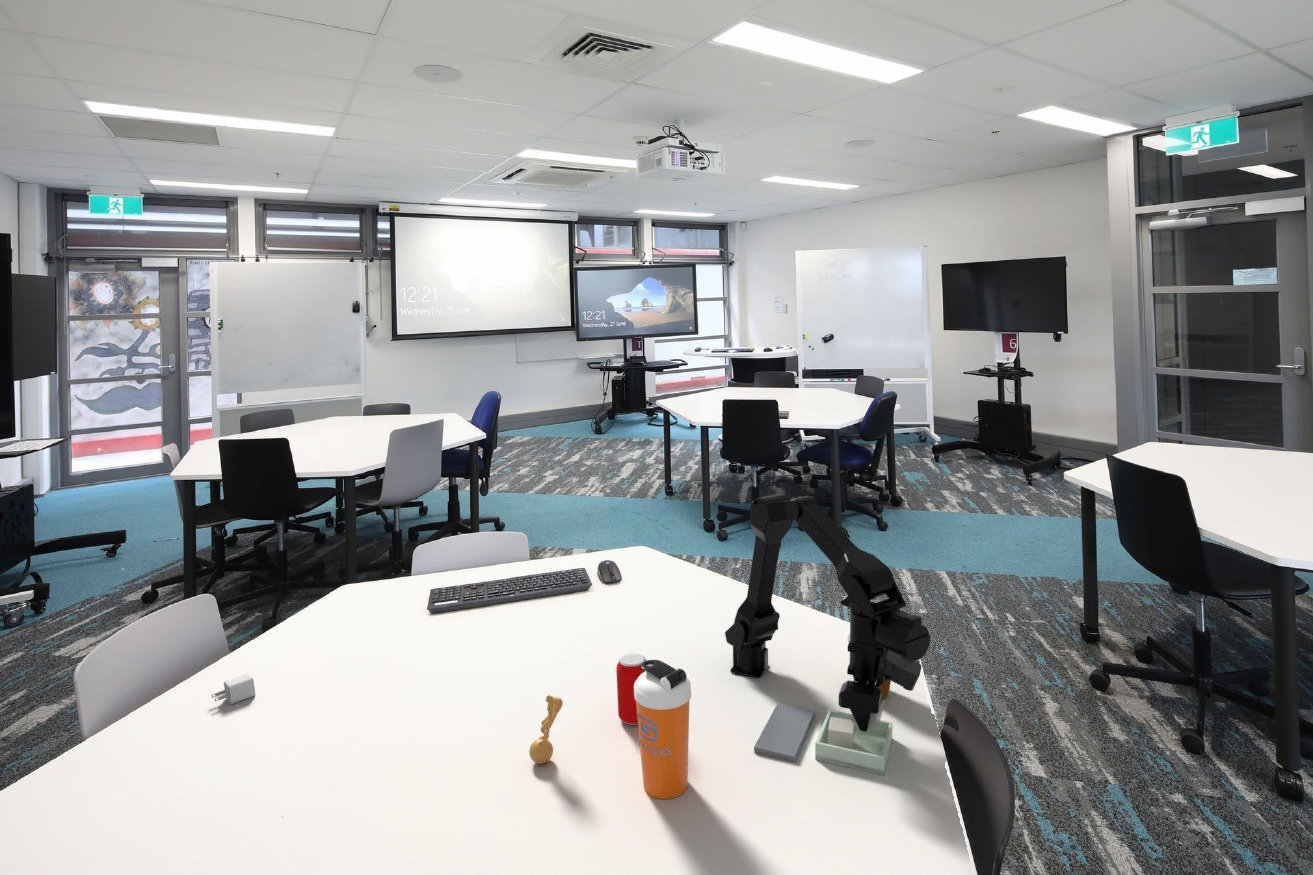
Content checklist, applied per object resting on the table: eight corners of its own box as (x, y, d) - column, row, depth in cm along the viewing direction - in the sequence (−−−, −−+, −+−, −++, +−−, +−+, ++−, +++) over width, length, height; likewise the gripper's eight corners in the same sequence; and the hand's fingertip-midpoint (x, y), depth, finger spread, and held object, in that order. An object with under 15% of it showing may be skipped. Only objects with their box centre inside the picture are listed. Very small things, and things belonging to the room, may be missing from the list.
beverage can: (655, 712, 133) (653, 653, 131) (644, 730, 127) (642, 669, 125) (625, 707, 135) (623, 649, 133) (613, 725, 129) (610, 664, 127)
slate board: (754, 752, 120) (753, 746, 120) (777, 707, 133) (777, 702, 133) (794, 761, 117) (794, 756, 117) (814, 715, 130) (814, 710, 130)
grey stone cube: (850, 719, 120) (855, 697, 120) (856, 713, 123) (862, 691, 123) (873, 729, 118) (879, 707, 118) (879, 722, 121) (884, 700, 121)
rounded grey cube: (827, 751, 118) (827, 729, 118) (830, 737, 122) (830, 716, 121) (852, 755, 117) (852, 733, 116) (853, 741, 121) (854, 720, 120)
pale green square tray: (815, 759, 118) (815, 742, 117) (828, 724, 127) (828, 709, 127) (883, 775, 113) (884, 758, 113) (892, 738, 123) (892, 722, 122)
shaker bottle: (658, 760, 119) (654, 649, 115) (703, 778, 114) (701, 663, 110) (626, 790, 111) (621, 673, 108) (673, 811, 106) (670, 688, 103)
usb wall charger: (255, 696, 144) (253, 678, 143) (217, 710, 139) (214, 692, 138) (249, 690, 146) (246, 672, 146) (211, 703, 142) (208, 685, 141)
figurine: (532, 747, 123) (528, 684, 121) (566, 745, 124) (563, 681, 122) (527, 778, 115) (523, 710, 113) (564, 774, 116) (561, 707, 114)
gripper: (913, 670, 106) (910, 764, 109) (923, 621, 123) (920, 704, 126) (838, 658, 111) (837, 748, 114) (857, 612, 128) (856, 692, 130)
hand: (866, 722), depth 121 cm, fingers open, 5 cm apart
